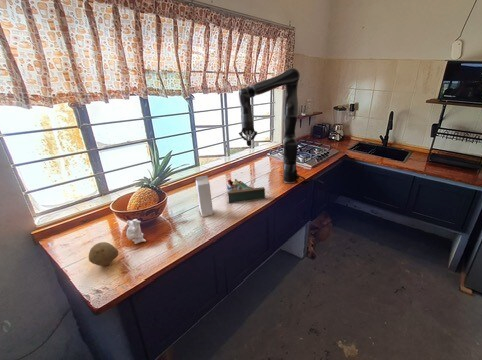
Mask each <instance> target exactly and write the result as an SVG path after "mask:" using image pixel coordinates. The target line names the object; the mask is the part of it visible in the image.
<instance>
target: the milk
mask: <svg viewBox="0 0 482 360" xmlns="http://www.w3.org/2000/svg"><path fill="white" fill-rule="evenodd" d="M195 187H196V193H197V200H198V207H199V213H200V215H201V217H202V218H203V217H207V216H212V215H214V208H213V201H212V191H211V185H210V181H209V177H208V175H203V176H197V177H195Z"/></svg>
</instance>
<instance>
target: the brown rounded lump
mask: <svg viewBox="0 0 482 360" xmlns="http://www.w3.org/2000/svg"><path fill="white" fill-rule="evenodd" d="M118 256H119V250H118V249H117V248H116V247H115V246H114V245H112V244H111V243H110V242H107V241H101V242H98V243H95V244H94V245H93V246H92V247H91V248H90V250H89V252H88V261H89V262H90V263H91V264H93V265H96V266H99V267H107V266H109V265H110V264H111V263H112V262H113V261H114V260H116V258H118Z"/></svg>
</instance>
